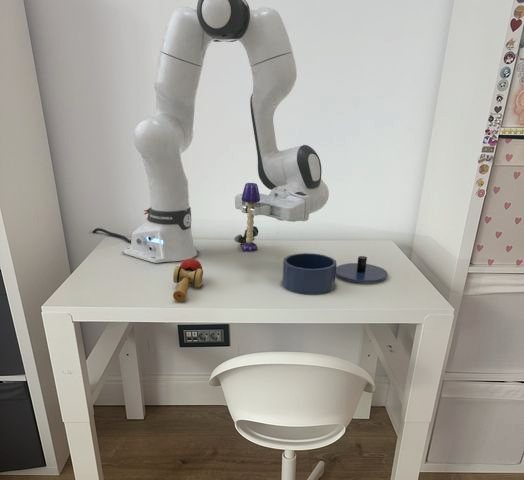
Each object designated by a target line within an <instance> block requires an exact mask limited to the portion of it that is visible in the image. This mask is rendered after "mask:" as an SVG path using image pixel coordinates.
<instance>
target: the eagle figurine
mask: <svg viewBox="0 0 524 480" xmlns="http://www.w3.org/2000/svg"><path fill="white" fill-rule="evenodd" d="M246 233H247V229H245V230H244V234H243V235H242V234H238V235H236V236H234V242H235V243H239V245H240V246H242V245H243V244H244V243H246V238H247V235H246ZM259 233H260V232H259V229H258V227H257V226H255V225H253V237H252V238H253V241H255V237H257V236H258V235H259Z"/></svg>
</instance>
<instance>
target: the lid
mask: <svg viewBox="0 0 524 480" xmlns="http://www.w3.org/2000/svg"><path fill="white" fill-rule="evenodd" d="M367 261H368V257H367V256H364V255H359V256H358V257H357V262H349V263H342V264H339V265H337V266H336V276H337V277H338V278H340V279H343V280H345V281H350V282H353V283H366V284H367V283H378V282H382V281H384V280H387V278H388V275H389V273H388V271H387V270H386V269H385V268H383V267H380V266H378V265H375V264H370V263H367Z"/></svg>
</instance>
